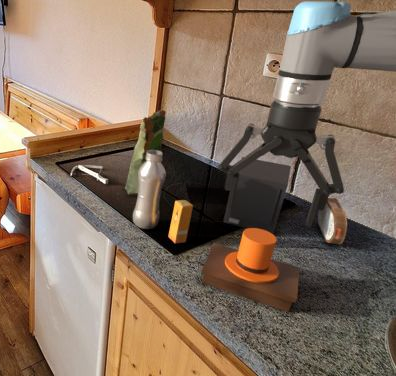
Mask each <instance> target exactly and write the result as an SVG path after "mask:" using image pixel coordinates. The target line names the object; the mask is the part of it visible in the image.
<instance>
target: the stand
mask: <svg viewBox="0 0 396 376" xmlns="http://www.w3.org/2000/svg"><path fill="white" fill-rule="evenodd" d="M238 251H239V249H237V248H233V247H230V246H226V245H223V244H220V243H216V242H213V243H212V245H211V248H210V249H209V253H208V255H207V257H206V260H205V262H204V264H203V266H202V267H201V274H203V278H202V282H201V284H203V285H205V286H209V287H213V288H215V289H219V290H222V291H224V292H227V293H229V294H233V295H236V296H239V297H242V298H245V299H247V300H252V301H254V302H257V303H260V304H263V305H267V306H269V307H273V308H275V309H279V310H281V311H285V312H286V313H289V312H290V310H291V307H292V303H295V304H296V302H297V300H298V292H299V281H300V267H299V266H297V265H293V264H289V263H286V262H282V261H279V260H276V259H272V258H271V262H273V263H274V264H275V265H276V267H277V268H278V270H279V275H278V278H277V279H276V280H275V281H273V282H269V283H256V282H251V281H247V280H245V279H242V278H240V277H238V276H236V275H235V274H233V273H232V272H231V271H230V270H229V269H228V268H227V267H226V264H225V259H226V257H227V255H229V254H230V253H233V252H238Z"/></svg>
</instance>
